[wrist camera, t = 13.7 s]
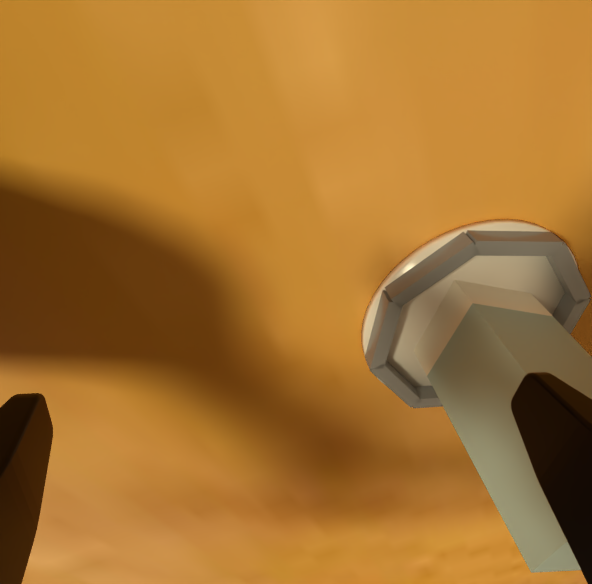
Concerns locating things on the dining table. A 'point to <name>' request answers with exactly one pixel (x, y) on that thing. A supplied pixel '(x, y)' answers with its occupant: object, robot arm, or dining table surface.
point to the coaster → (470, 268)
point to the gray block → (502, 399)
